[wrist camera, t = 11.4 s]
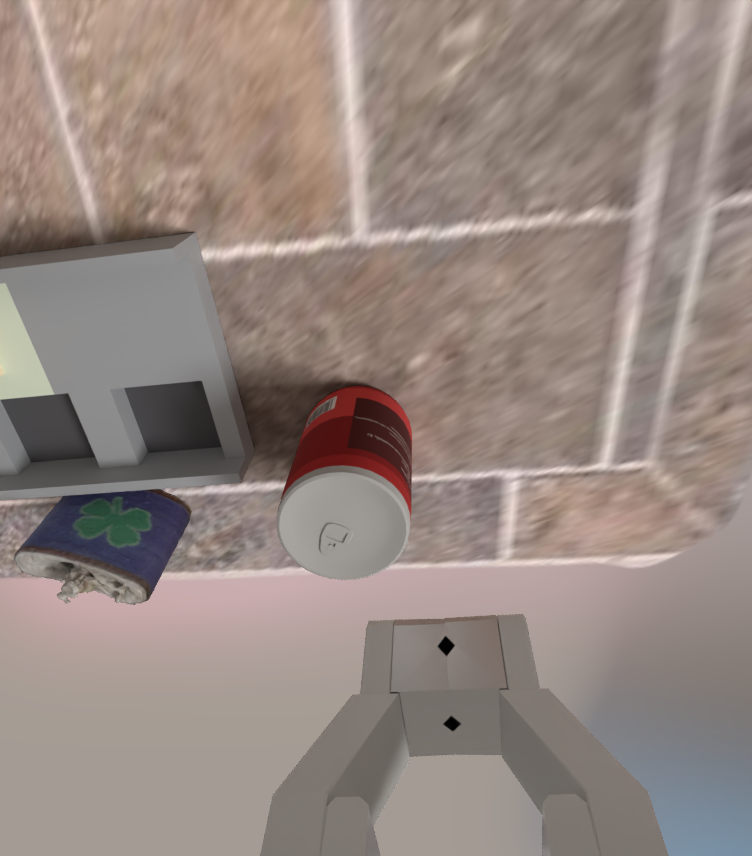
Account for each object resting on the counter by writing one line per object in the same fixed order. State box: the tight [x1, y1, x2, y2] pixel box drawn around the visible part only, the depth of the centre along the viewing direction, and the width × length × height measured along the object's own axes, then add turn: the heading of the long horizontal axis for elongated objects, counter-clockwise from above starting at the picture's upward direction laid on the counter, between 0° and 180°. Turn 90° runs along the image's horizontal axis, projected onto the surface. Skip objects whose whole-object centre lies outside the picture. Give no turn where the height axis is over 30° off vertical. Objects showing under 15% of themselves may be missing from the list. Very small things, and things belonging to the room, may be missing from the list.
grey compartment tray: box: [0, 233, 255, 500], centre depth 40 cm, size 16×21×4 cm
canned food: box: [276, 386, 412, 580], centre depth 39 cm, size 8×8×11 cm
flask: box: [14, 489, 192, 605], centre depth 43 cm, size 9×3×11 cm, turn 71°
